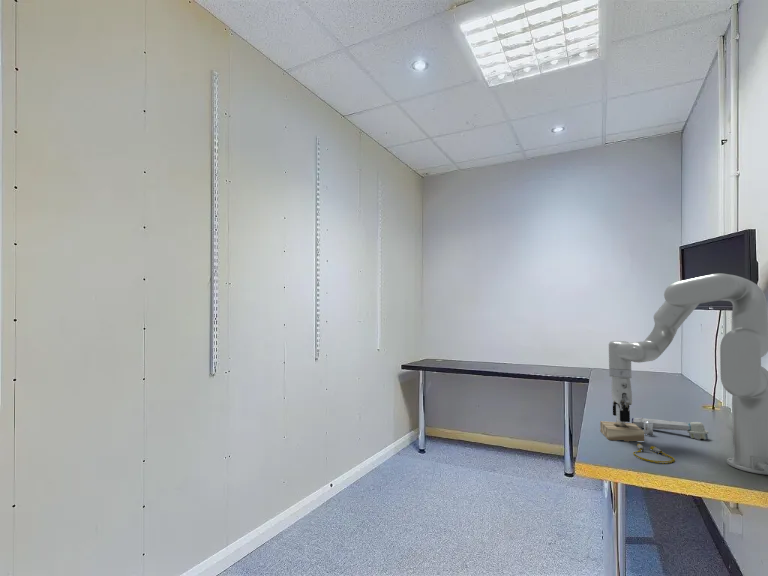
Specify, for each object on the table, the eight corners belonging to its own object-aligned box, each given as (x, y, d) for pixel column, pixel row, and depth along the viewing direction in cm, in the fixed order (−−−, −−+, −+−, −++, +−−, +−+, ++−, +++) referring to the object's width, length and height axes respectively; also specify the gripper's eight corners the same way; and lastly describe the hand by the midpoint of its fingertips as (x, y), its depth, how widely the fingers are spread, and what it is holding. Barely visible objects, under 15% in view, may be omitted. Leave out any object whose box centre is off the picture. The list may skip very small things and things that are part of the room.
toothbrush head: (634, 416, 178) (706, 419, 161) (637, 432, 177) (710, 437, 160) (630, 418, 175) (704, 421, 157) (633, 435, 174) (707, 440, 156)
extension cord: (679, 456, 141) (679, 450, 141) (670, 468, 129) (670, 461, 129) (638, 447, 149) (637, 442, 149) (626, 458, 138) (626, 452, 138)
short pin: (654, 436, 162) (653, 423, 162) (645, 435, 163) (645, 422, 163) (651, 434, 165) (651, 421, 165) (642, 433, 166) (642, 420, 166)
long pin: (627, 438, 159) (625, 405, 160) (618, 437, 160) (617, 405, 161) (624, 435, 162) (623, 404, 163) (616, 435, 163) (614, 403, 164)
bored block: (644, 442, 154) (644, 431, 154) (608, 439, 157) (608, 428, 157) (634, 433, 165) (633, 423, 166) (600, 431, 168) (600, 421, 169)
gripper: (638, 377, 153) (639, 425, 152) (624, 371, 170) (625, 414, 169) (615, 376, 155) (616, 423, 154) (603, 370, 172) (604, 412, 171)
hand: (621, 418), depth 161 cm, fingers open, 9 cm apart
